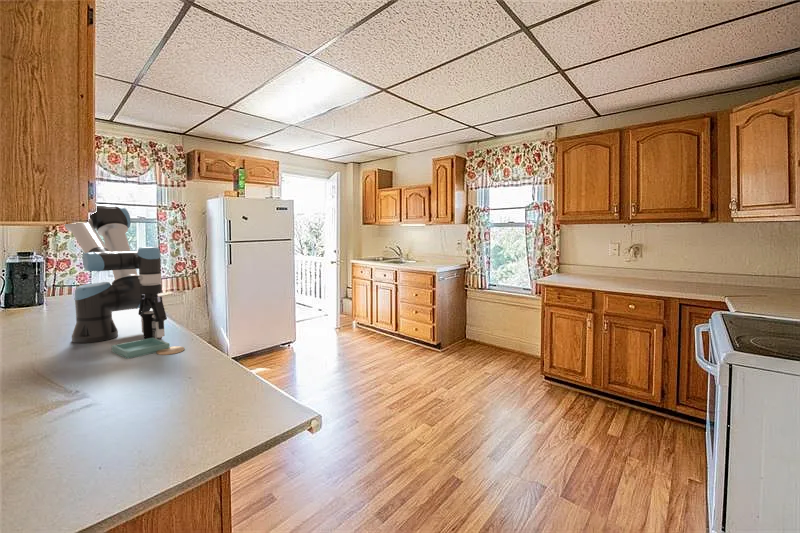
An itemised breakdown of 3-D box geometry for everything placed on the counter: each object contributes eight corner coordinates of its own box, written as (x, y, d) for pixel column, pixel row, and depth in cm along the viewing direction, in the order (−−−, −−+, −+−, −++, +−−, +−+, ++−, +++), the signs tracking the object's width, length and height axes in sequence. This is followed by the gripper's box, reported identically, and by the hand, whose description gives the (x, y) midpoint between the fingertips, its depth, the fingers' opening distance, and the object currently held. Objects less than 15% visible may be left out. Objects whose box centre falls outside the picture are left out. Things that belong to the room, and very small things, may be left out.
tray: (111, 351, 138) (111, 345, 138) (153, 343, 150) (153, 337, 150) (127, 358, 131) (127, 352, 130) (169, 349, 142) (169, 343, 142)
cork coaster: (152, 351, 139) (152, 350, 138) (177, 346, 146) (177, 345, 146) (163, 356, 134) (163, 355, 133) (188, 350, 141) (188, 349, 141)
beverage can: (145, 338, 156) (144, 311, 155) (163, 337, 159) (162, 309, 158) (142, 342, 150) (140, 314, 149) (161, 341, 153) (159, 312, 152)
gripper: (127, 282, 156) (130, 331, 158) (154, 287, 143) (156, 340, 144) (147, 281, 163) (149, 328, 164) (174, 285, 149) (177, 336, 150)
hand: (153, 334), depth 154 cm, fingers open, 13 cm apart
